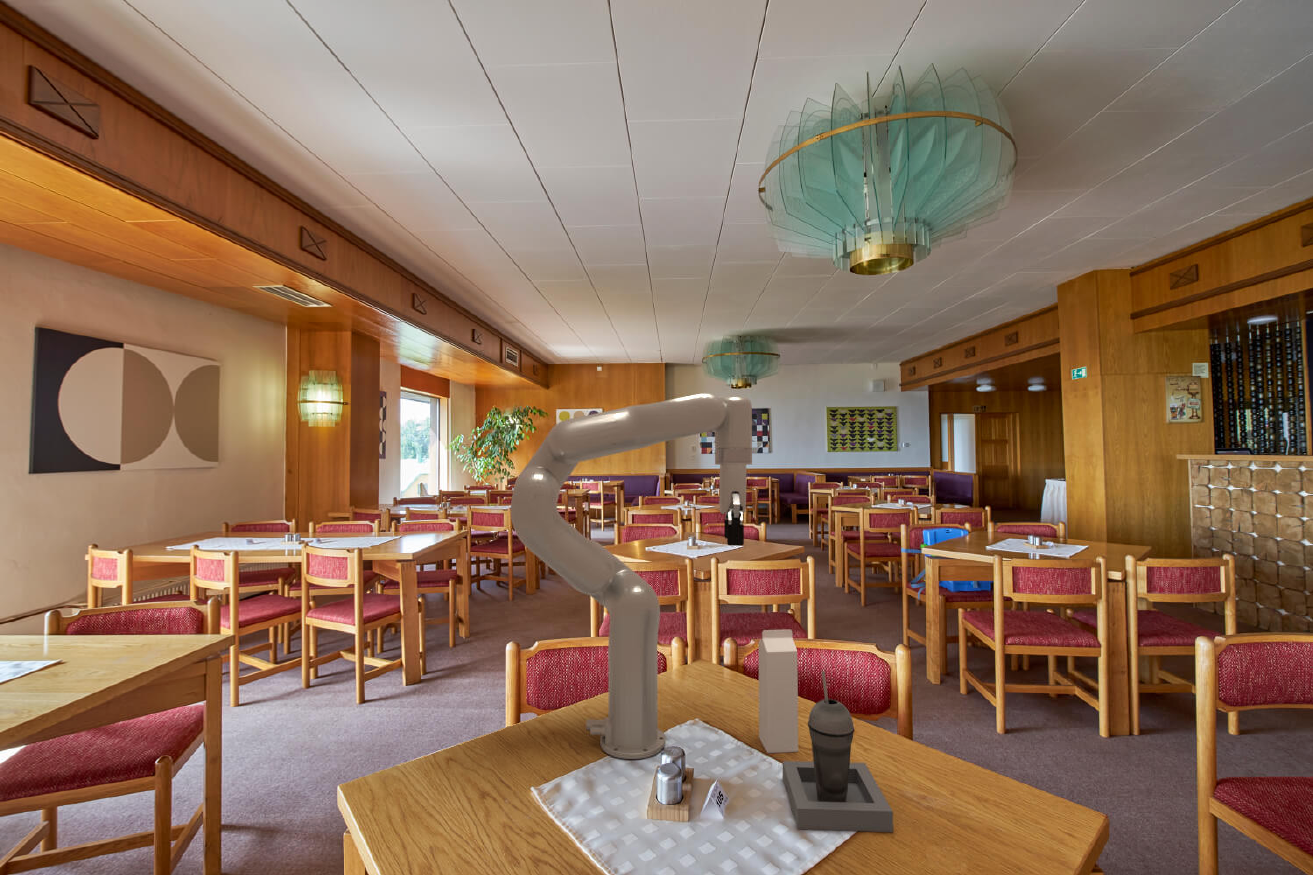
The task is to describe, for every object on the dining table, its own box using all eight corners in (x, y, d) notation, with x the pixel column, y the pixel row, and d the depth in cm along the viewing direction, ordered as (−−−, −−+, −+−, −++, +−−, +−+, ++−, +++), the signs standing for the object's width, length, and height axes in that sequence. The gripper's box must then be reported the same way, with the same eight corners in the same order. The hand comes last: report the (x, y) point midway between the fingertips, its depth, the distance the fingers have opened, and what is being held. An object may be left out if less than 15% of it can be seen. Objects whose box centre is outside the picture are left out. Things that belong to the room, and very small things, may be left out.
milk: (798, 752, 112) (798, 634, 113) (766, 753, 112) (766, 635, 112) (788, 736, 118) (788, 625, 119) (758, 738, 118) (758, 625, 118)
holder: (797, 828, 89) (797, 808, 89) (782, 778, 103) (782, 760, 103) (893, 832, 88) (892, 811, 88) (865, 780, 102) (864, 762, 102)
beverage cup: (845, 818, 91) (844, 685, 91) (800, 801, 95) (799, 674, 96) (861, 796, 96) (860, 671, 97) (818, 781, 101) (817, 662, 102)
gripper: (713, 457, 131) (713, 535, 130) (716, 457, 114) (717, 548, 113) (747, 457, 130) (748, 536, 130) (756, 457, 113) (756, 548, 113)
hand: (733, 541), depth 121 cm, fingers open, 9 cm apart
